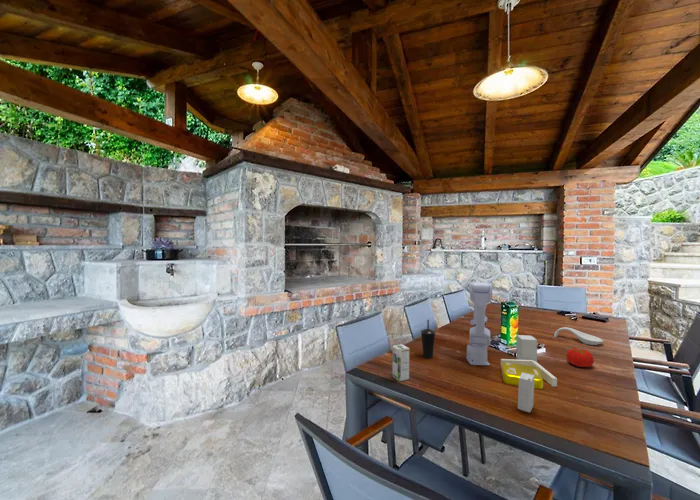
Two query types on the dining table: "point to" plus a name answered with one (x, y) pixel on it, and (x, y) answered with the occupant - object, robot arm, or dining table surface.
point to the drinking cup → (428, 341)
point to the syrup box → (400, 362)
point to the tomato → (580, 357)
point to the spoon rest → (582, 336)
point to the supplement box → (526, 348)
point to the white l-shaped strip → (544, 373)
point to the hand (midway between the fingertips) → (479, 335)
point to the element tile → (514, 372)
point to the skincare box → (526, 392)
